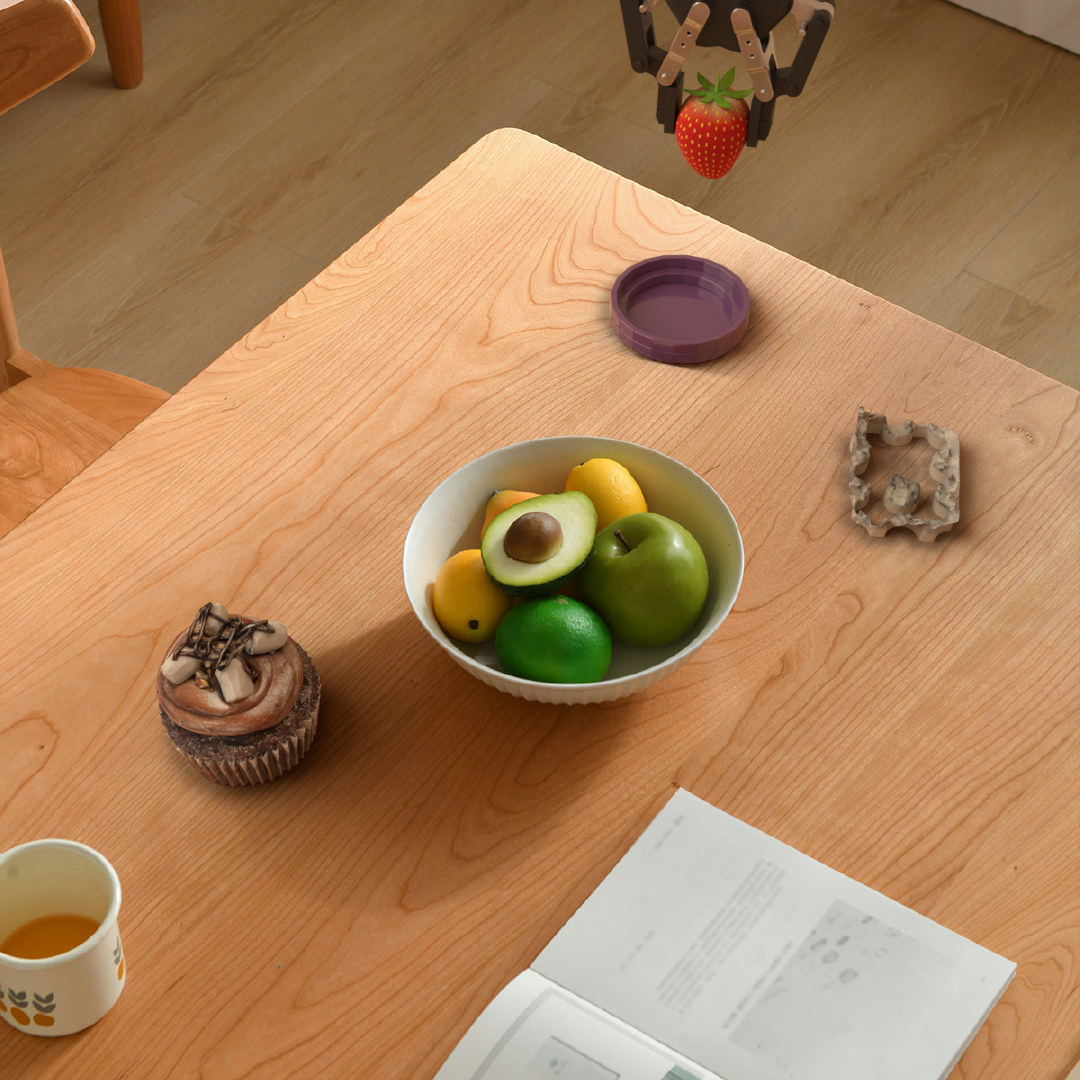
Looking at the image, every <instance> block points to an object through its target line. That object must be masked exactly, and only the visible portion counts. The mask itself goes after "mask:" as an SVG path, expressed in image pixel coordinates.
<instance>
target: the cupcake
mask: <svg viewBox="0 0 1080 1080" xmlns="http://www.w3.org/2000/svg"><path fill="white" fill-rule="evenodd" d="M317 672H318V665H316V664H314V665H313V656H308V650H304V648H303V647H302V646H301V644H300V643H298V642H297V641H295V639H293V638H292V636H290V635H288V628H287V627H286V625H284V624H283V623H282V622H280V621H278V620H271V621H269V619H259V618H258V617H255V616H250V615H245V614H244V615H243V614H240V613H229V612H228V609H227V608H226V606H225V605H223V604H221V603H219V602H216V603H213V602H211V601H209V602H207V603H206V604H204V605H203V606H201V607H200V608H199V610H198V612H197V614H196V615H195V617H194V619H193V620H192V623H191V624H190V625H189V626H188V627H186V628H185V629H183V630H182V631H181V632H180V633H178V634H177V635H176V637H174V639H173V641H172V642H171V643H170V645H169V647H168V649H167V650H166V652H165V655H164V656H163V659H162V661H161V663H160V665H159V668H158V671H157V675H156V682H155V686H154V689H155V690H156V692H155V695H154V697H155V698H157V701H158V709H159V711H160V713H158V716H159V718H160V723H161V725H162V726H163V728H164V729H165V730H164V731H165V735H166V737H168V739H169V740H170V742H171V744H172V745H173V746H174V748H175V749H176V751H177V752H179V753H180V754H181V755H182V756H183V757H184V758H185V759H186V760H187V761H188V762H189V764H190V765H191V766H192V767H193V768H194V769H195V771H197V773H198V774H202V776H203V777H204V779H208V780H210V781H211V783H213V784H215V783H219V784H220V785H221V786H227V785H229V786H231V787H236V786H238V785H240V786H242V787H245V786H247V785H248V784H250V785H251V786H254V785H256V784H257V783H260V784H262V785H263V784H264V783H265V782H266V781H271V782H272V781H273V780H274V779H275V778H276V777H283V775H284V772H285V771H291V769H292V766H295V765H298V764H299V760H300V759H304V757H305V756H304V755H305V753H306V752H308V751H310V744H312V743H314V737H315V735H316V734H317V727H318V717H319V716H318V715H319V709H320V700H321V695H322V694H321V688H322V683H320V680H321V676H320V674H318V673H317Z"/></svg>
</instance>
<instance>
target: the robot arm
mask: <svg viewBox="0 0 1080 1080" xmlns="http://www.w3.org/2000/svg"><path fill="white" fill-rule="evenodd" d="M664 1H665V2H666V4H667V6H668V8H669V9H670V11H671V13H672V14H673V16H674V18H675V19H676V21H677V23H678V24H679V26H680V27H679V28H678V30H677V32H676V35H675V36H674V38H673V40H672V43H671V44H670V46H669V48H668V49H667V50H665V49H663V48H661V47H659V46H658V43H657V36H656V31H655V30H656V29H655V25H654V19H653V12H652V11H653V10H654V8H655V6H656V4H657V2H658V0H619V6H620V11H621V16H622V17H621V18H622V22H623V28H624V33H625V39H626V45H627V51H628V55H629V56H628V57H629V60H630V66H631V69H632V70H633V71H634V72H635V73H637V74H644V73H647V74H649V75H651V76H653V78H655V80H656V81H657V97H656V111H655V118H656V122H657V124H658V125H662V126H663V133H664V134H669V135H676V133H675V123H676V118H677V114H678V112H679V109H680V107H681V106H682V104H683V95H684V92H683V91H681V90H683V89H684V84H685V73H686V72H685V71H683V70H682V67H683V65H684V63H685V62H686V61H687V58H688V56H689V54H690V52H691V50H692V48H693V46H696V47H701V48H716V47H720V48H723V49H725V50H727V51H730V52H736V53H740V54H741V56H742V60H743V64H744V67H745V70H746V72H747V73H749V77H750V81H751V83H752V88H753V87H754V90H753V91H754V93H753V97H752V99H751V103H750V118H749V126H748V133H747V141H746V143H745V147H748V148H753V149H757V148H758V145H759V141H762V142H766V141H767V139H768V137H769V135H770V132H771V129H772V127H773V124H774V116H775V110H776V103H777V98H779V97H781V96H788V97H790V98H797V97H800V95H802V92H803V91H804V88H805V85H806V83H807V81H808V78H809V77H810V74H811V72H812V69H813V66H814V65H815V62H816V60H817V57H818V55H819V53H820V50H821V48H822V46H823V43H824V41H825V39H826V36H827V35H828V32H829V29H830V27H831V24H832V22H833V21H832V20H833V17H834V14H835V11H836V9H837V2H836V0H664ZM788 14H790V15H791V16H793V18H794V20H795V24H794V30H795V33H796V34H797V35H798V36H799V37H801V41H800V43H799V46H798V48H797V51H796V53H795V55H794V58H793V60H792V62H791V65H790V66H784V67H780V66H779V63H778V60H777V56H776V55H777V54H776V51H775V38H774V34H773V29H775V28H776V27H777V25H778V24H780V23H781V22H782V21H783V20H784V19H785V18H786V16H787V15H788Z"/></svg>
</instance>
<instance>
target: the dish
mask: <svg viewBox="0 0 1080 1080" xmlns="http://www.w3.org/2000/svg"><path fill="white" fill-rule="evenodd" d="M751 305H752V302H751V297H750V291H749V288H748V287H747V286H746V284H745V283H744V282H743V280H742V279H741V278H740V276H739V275H737V274H736V273H734V272H733V271H732V270H731V269H730V268H728V267H727V266H725V265H723V264H721V263H719V262H716V261H713V260H712V259H708V258H705V257H700V256H694V255H689V254H662V255H657V256H653V257H648V258H645V259H642V260H641V261H638V262H636V263H634V264H632V265H630V266H628V267H627V268H626V269H625V270H624V271H622V272H621V274H620V275H619V276H617V277H616V279H615V281H614V283H613V285H612V288H611V290H610V297H609V319H610V325H611V327H612V329H613V331H614V333H615V334H616V336H617V339H619V340H620V341H621V342H622V343H623V344H624V345H626V347H628V348H629V349H630V350H632V351H634V352H635V353H637V354H640V355H641V356H644V357H646V358H649V359H651V360H656V361H660V362H664V363H670V364H695V363H696V364H697V363H702V362H705V361H710V360H713V359H716V358H719V357H720V356H722V355H724V354H726V353H728V352H730V351H732V350H733V349H735V347H736V346H737V345H738V344H739V342H741V341H742V340H743V338H744V337H745V335H746V331H747V328H748V324H749V319H750V314H751V313H750V312H751V307H752V306H751Z"/></svg>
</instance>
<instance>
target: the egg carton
mask: <svg viewBox="0 0 1080 1080" xmlns="http://www.w3.org/2000/svg"><path fill="white" fill-rule="evenodd" d="M856 420H857V421H856V428H855V433H854V434H853V435H852V436H851V438H850V441H849V452H850V453H851V459H850V460H851V461H850V465H849V472H848V488H849V499H850V505H851V519H852V520H854V522H855V523H856V525H858V524H859V525H861V526H862V527H864V528H865V529H866V530H867V532H868V534H869V536H871V537H874V538H885V537H886V535H887V532H888V531H889V530H891V529H893V528H897V527H903V528H907V529H909V530H911V531H912V532H914V534H915V535H916V537H917V539H918V540H919V542H923V543H924V542H925V543H934V542H935V540H936V538H937V536H939V535H941V534H942V533H945V532H951V531H952V528H953V524H955V523H957V522H959V520H960V512H961V511H960V510H961V509H960V499H961V498H960V488H961V479H960V473H961V470H960V469H961V468H960V439H959V438H960V437H959V435H958V434H957V433H956V432H955V431H953V430H952V429H951V428H950V427H947V426H939V425H937V424H934V423H932V422H929V423H928V424H919V423H918V424H917V423H915V422H914V421H913V420H906V421H905V422H903V423H904V424H903V425H897V424H888V421H887V420H888V419H887V416H886V415H884V414H883V413H878V412H868V411H866V410H865V406H862V405H861V406H859V407H858V409H857V419H856ZM867 434H877V435H879V436H880V438H881V439H882V441H883V442H884V443H886V444H888V445H890V446H891V447H904V446H907V445H909V444H910V443H911V441H912V440H913V438H924V439H926V441H927V442H928V444H929V445H930V446H931V447H932V448H934V449H936V450H939V451H936V452H935V453H934V455H933V457H932V459H931V462H930V465H929V469H928V472H929V475H930V477H931V478H932V479H933V480H934V481H936V482H938V483H939V484H938V485H937V487H936V491H935V493H934V496H933V498H932V502H931V509H932V511H933V512H934V513H933V514H935V515H937V516H938V517H939V518H941V519H943V520H946V521H942V520H940V519H939V520H938V519H933V518H932V519H929V520H927V521H926V520H924V519H923V518H921V517H920V518H915V517H914V516H913V515H911V514H912V513H914V512H915V510H916V509H917V506H918V503H919V501H920V498H921V485H920V483H919V482H917V481H915V480H914V479H910V478H907V477H904V476H901V474H899V473H894V474H893V475H892V476H890V478H889V480H888V485H887V487H886V488H885V491H884V495H883V501H882V502H883V506H884V507H885V509H886V510H887V511H888V512H890V513H892V514H893V515H892V516H891V517H890V518H889V517H886V518H884V519H883V521H882V524H881V525H879V526H876V525H873V524H872V521H871V518H870V516H869V515H867V514H866V513H864V511H863V510H862V509H864V508H866V506H867V505H868V503H869V500H870V497H871V492H872V489H873V485H872V483H870V482H869V483H865V482H864V481H863V480H862V478H860V477H858V476H860V475H862V474H864V473H865V472H866V471H867V468H868V465H869V459H870V458H871V452H872V451H871V450H872V449H873V446H872V445H870V444H869V441H868V440H867ZM857 511H858V512H857ZM895 515H897V516H895Z"/></svg>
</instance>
